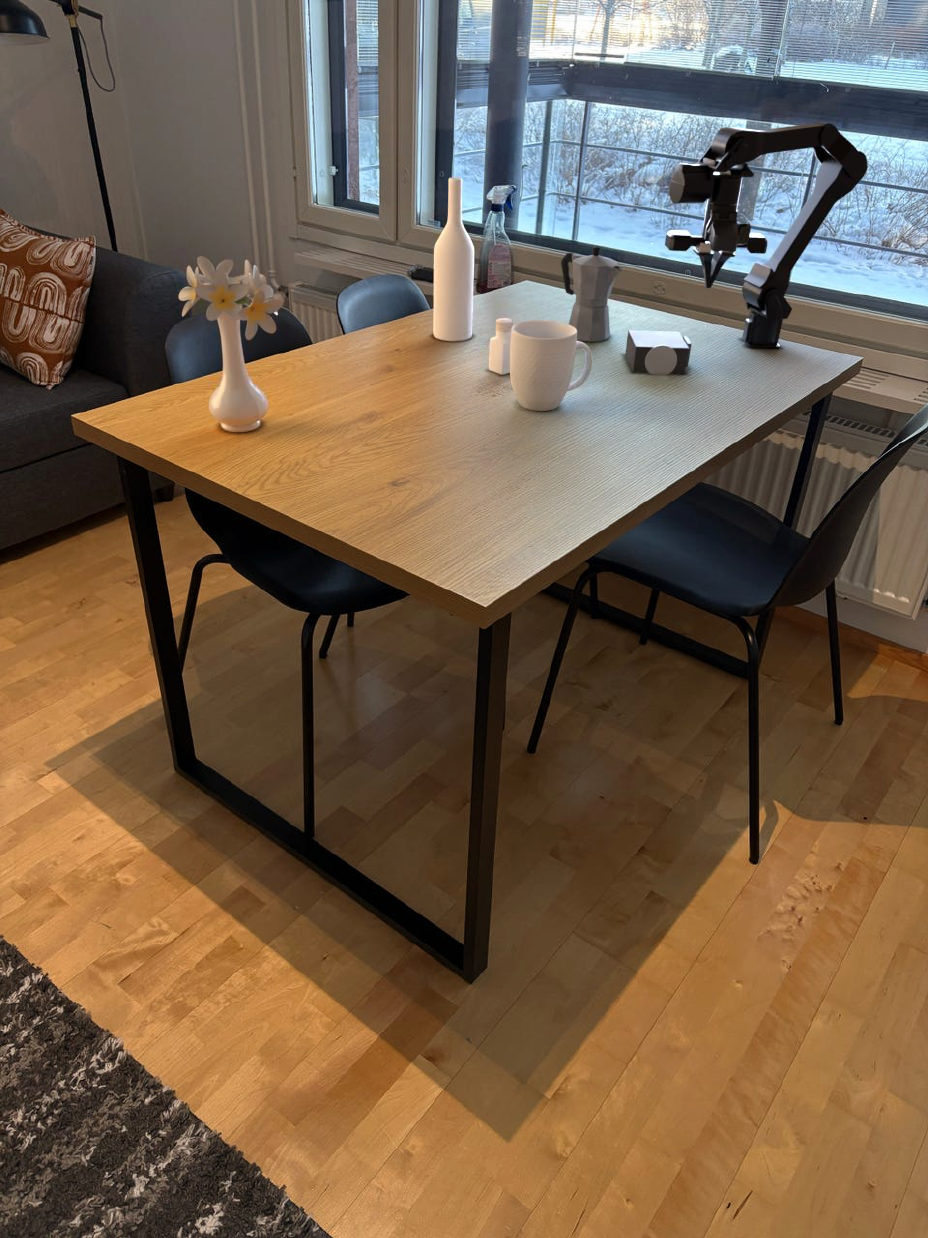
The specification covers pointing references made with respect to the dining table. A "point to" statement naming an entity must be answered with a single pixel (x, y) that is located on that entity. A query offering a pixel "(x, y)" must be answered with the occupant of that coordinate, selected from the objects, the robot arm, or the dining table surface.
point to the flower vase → (234, 336)
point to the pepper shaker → (501, 347)
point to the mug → (544, 363)
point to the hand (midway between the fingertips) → (708, 287)
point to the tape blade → (688, 346)
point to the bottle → (453, 273)
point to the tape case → (656, 352)
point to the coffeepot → (590, 293)
